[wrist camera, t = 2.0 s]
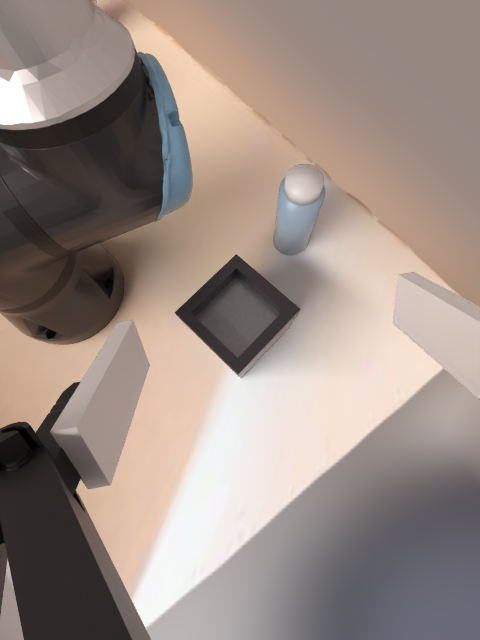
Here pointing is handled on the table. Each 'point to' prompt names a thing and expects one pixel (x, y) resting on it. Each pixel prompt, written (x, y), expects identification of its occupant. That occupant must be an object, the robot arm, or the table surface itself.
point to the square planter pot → (238, 315)
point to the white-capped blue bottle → (298, 208)
